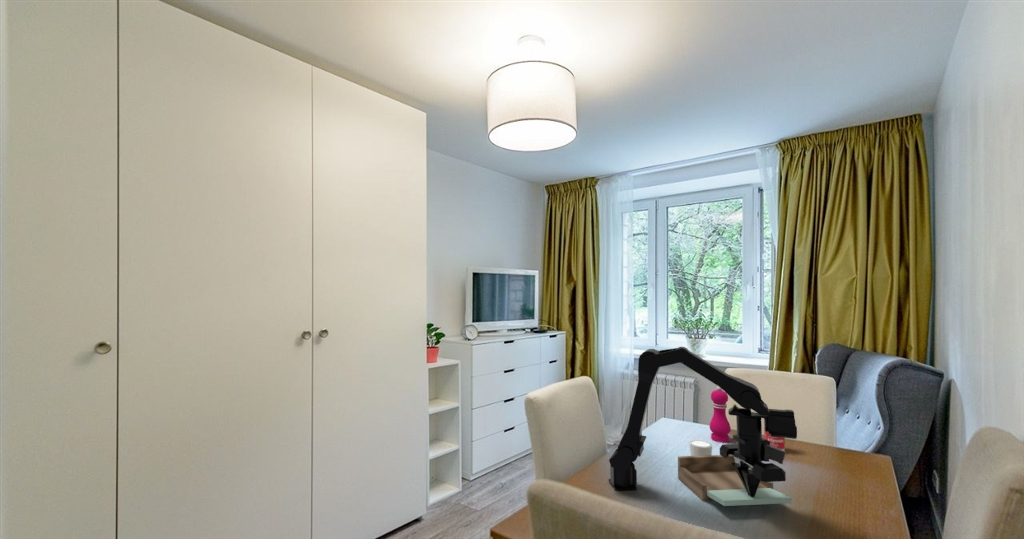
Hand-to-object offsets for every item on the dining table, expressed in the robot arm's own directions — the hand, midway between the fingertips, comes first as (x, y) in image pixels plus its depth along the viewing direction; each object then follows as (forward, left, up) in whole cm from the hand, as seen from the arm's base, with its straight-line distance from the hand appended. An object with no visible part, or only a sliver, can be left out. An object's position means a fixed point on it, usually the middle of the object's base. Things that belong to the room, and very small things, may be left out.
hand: (751, 495), depth 113 cm
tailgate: (0, +5, -1) cm, 5 cm away
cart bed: (0, +13, -4) cm, 13 cm away
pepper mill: (+22, +52, -4) cm, 56 cm away
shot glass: (+2, +29, -4) cm, 29 cm away
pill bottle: (+35, +40, -4) cm, 53 cm away
